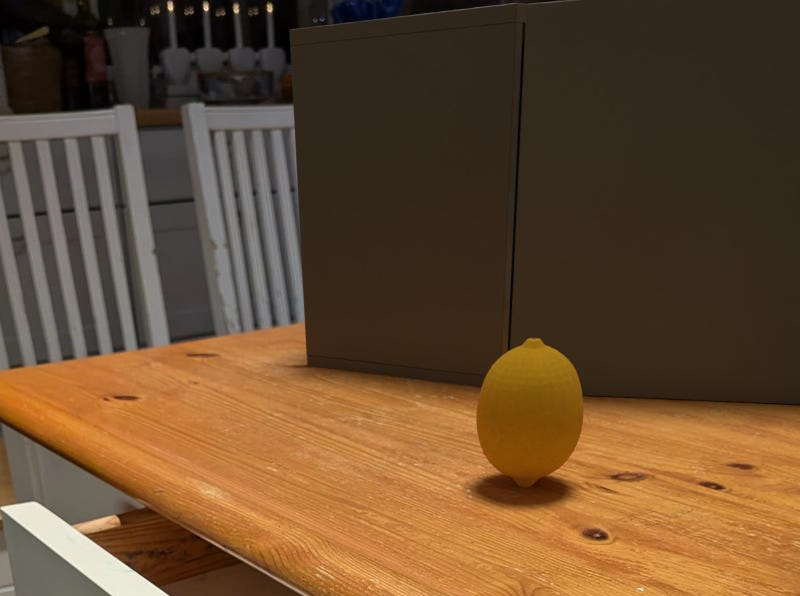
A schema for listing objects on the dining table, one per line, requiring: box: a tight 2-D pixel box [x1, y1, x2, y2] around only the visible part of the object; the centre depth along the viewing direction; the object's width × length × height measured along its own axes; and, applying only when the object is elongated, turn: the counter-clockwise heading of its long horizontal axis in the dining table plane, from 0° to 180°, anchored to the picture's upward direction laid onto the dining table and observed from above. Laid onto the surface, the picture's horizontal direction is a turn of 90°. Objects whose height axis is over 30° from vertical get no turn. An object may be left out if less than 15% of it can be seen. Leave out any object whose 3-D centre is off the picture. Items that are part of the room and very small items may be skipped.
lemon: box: [475, 338, 585, 489], centre depth 51 cm, size 6×6×8 cm
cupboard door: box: [510, 0, 800, 405], centre depth 57 cm, size 8×26×24 cm, turn 70°
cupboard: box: [289, 2, 528, 389], centre depth 79 cm, size 18×26×24 cm
